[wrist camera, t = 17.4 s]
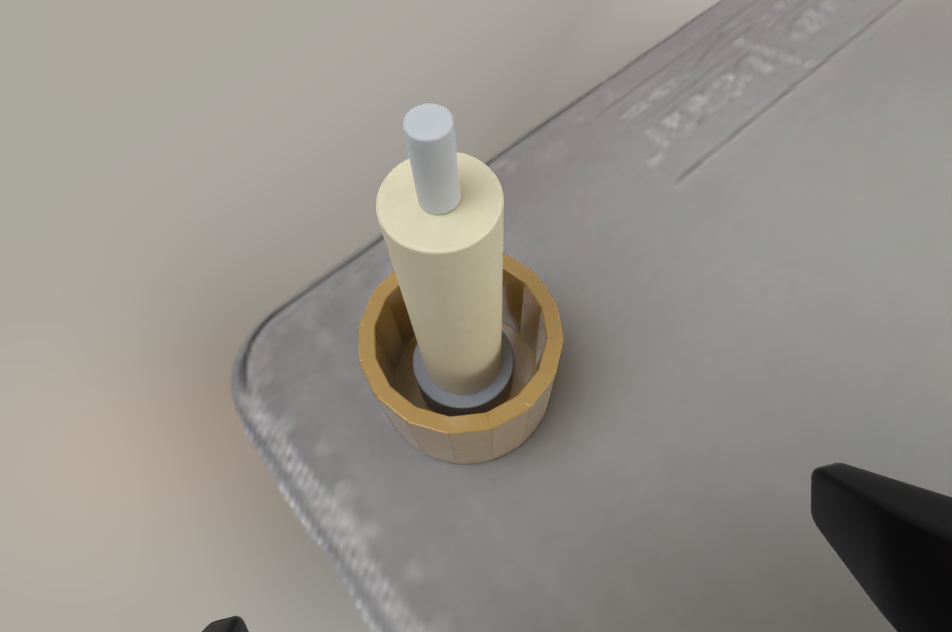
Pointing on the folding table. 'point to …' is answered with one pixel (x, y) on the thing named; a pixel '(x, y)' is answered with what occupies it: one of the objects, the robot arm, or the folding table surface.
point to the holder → (473, 435)
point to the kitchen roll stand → (449, 265)
